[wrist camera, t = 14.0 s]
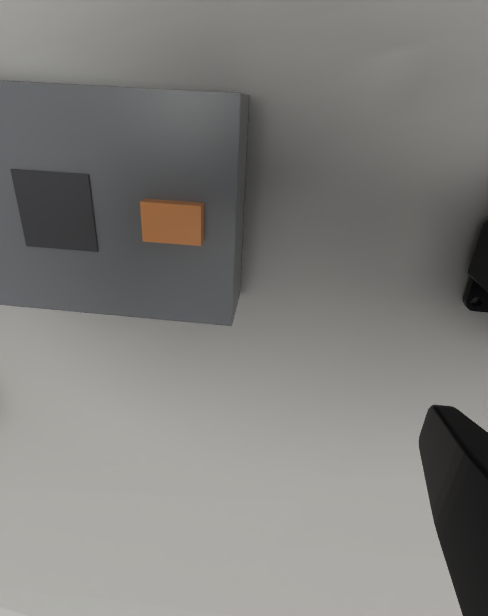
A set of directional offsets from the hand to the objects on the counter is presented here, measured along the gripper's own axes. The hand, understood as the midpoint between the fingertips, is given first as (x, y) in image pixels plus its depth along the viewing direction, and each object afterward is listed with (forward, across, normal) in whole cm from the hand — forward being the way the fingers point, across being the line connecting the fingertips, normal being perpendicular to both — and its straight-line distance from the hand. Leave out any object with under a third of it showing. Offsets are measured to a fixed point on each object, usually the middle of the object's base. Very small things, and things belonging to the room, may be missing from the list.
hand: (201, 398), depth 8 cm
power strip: (+13, +11, -1) cm, 17 cm away
